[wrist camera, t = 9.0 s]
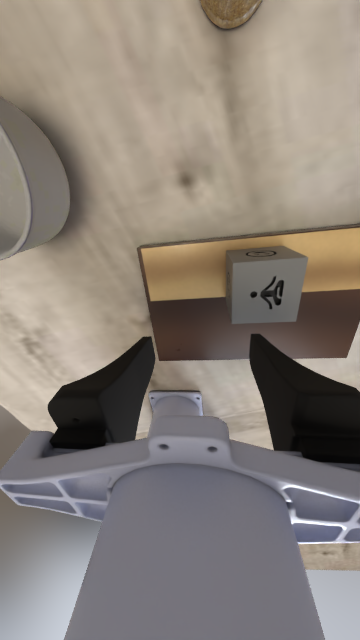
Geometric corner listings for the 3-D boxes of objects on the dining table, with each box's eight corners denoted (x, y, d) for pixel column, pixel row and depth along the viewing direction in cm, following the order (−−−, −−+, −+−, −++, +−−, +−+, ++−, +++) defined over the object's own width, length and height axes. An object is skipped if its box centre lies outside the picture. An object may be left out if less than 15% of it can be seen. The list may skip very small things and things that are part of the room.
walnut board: (339, 349, 24) (346, 358, 23) (161, 353, 27) (158, 361, 26) (381, 221, 18) (396, 222, 16) (140, 245, 21) (136, 248, 19)
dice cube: (276, 297, 20) (296, 321, 16) (225, 300, 21) (231, 323, 17) (283, 245, 18) (308, 257, 14) (226, 250, 19) (232, 263, 14)
